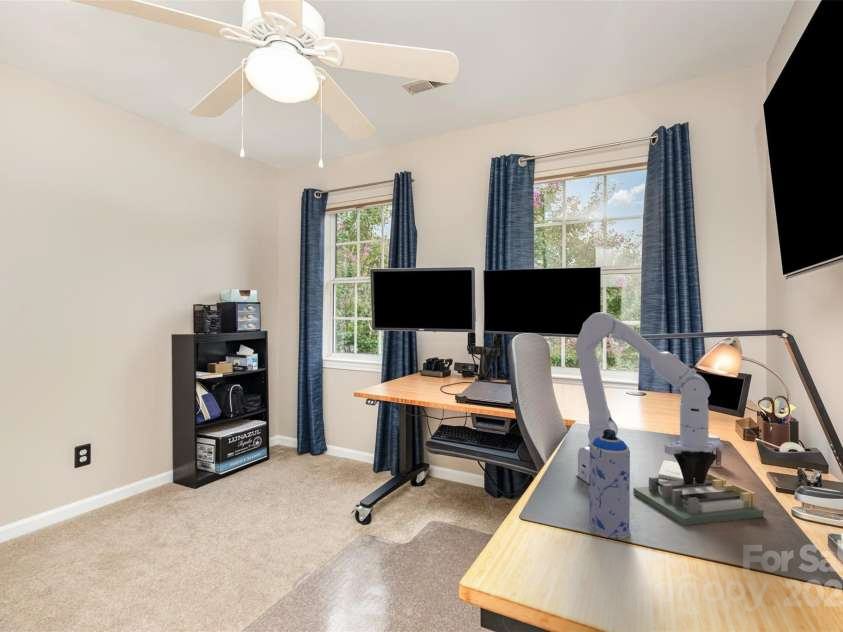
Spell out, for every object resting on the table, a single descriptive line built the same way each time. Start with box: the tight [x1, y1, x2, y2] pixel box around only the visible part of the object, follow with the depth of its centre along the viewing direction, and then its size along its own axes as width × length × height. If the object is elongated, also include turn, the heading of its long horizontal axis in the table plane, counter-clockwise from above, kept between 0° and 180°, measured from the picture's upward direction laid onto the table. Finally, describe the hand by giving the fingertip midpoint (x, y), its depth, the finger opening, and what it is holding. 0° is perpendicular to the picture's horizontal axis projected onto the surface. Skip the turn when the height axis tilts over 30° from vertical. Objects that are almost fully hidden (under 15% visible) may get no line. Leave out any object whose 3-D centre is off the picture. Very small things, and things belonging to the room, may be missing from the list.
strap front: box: [680, 491, 740, 502], centre depth 91 cm, size 14×3×1 cm, turn 101°
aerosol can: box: [587, 429, 631, 540], centre depth 83 cm, size 8×8×20 cm
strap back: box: [656, 479, 712, 488], centre depth 97 cm, size 14×3×1 cm, turn 101°
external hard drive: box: [657, 460, 683, 481], centre depth 112 cm, size 2×8×12 cm
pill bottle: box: [709, 433, 722, 468], centre depth 119 cm, size 5×5×8 cm
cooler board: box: [632, 472, 765, 527], centre depth 94 cm, size 20×15×4 cm
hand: (693, 482), depth 98 cm, fingers closed on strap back, 2 cm apart
